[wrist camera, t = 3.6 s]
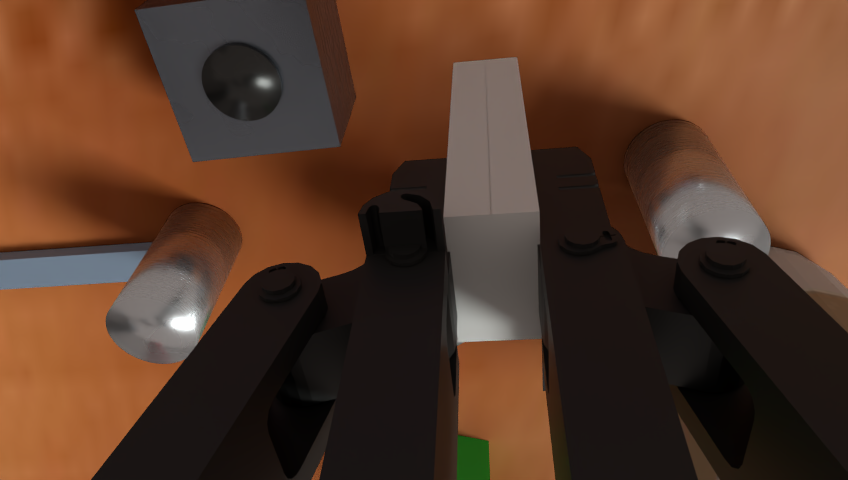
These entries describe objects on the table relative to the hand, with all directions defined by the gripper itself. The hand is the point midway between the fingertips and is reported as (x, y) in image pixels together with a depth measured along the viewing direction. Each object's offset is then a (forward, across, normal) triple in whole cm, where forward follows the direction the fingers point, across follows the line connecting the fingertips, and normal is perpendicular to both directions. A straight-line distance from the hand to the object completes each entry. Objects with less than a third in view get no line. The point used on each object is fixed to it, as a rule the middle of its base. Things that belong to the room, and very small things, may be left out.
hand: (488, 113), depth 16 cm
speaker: (+8, -7, 0) cm, 11 cm away
